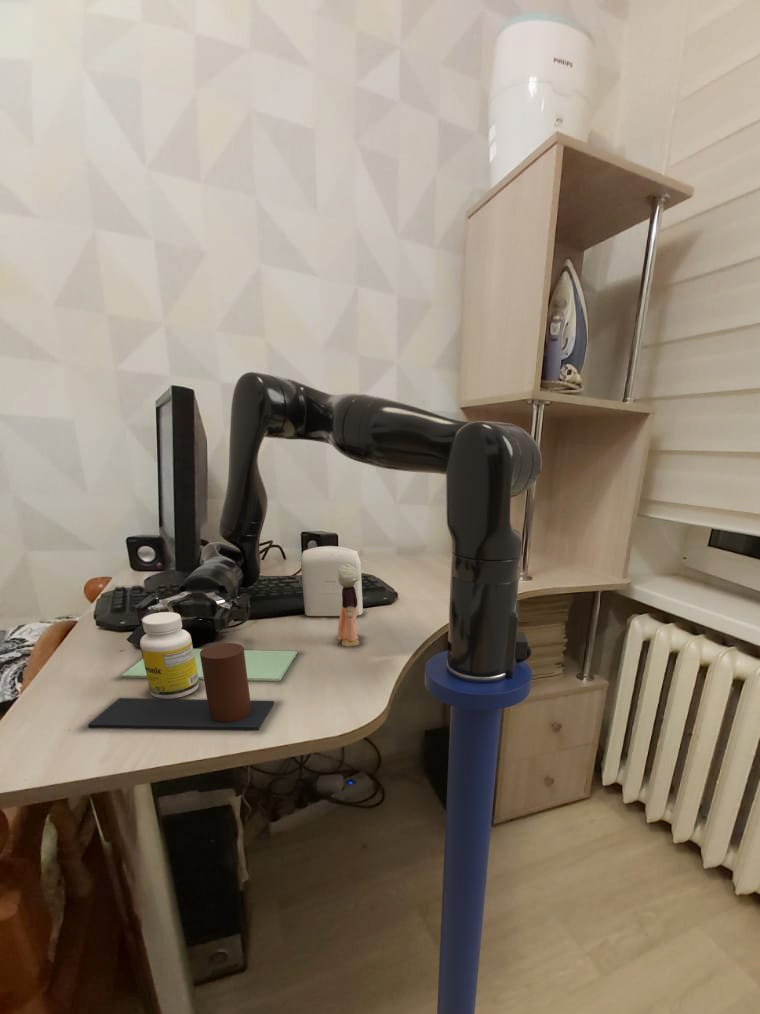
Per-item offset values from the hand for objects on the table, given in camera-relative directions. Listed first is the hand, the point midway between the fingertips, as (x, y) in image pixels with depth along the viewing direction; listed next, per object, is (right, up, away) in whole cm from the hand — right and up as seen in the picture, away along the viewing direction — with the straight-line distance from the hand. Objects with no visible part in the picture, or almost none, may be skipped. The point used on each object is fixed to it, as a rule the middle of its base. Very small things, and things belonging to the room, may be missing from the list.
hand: (183, 625), depth 69 cm
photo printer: (+13, +3, +25) cm, 28 cm away
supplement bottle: (+1, -8, -4) cm, 9 cm away
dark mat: (+6, -11, -9) cm, 15 cm away
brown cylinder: (+11, -10, -9) cm, 17 cm away
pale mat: (+3, -5, +3) cm, 7 cm away
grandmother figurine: (+19, -2, +13) cm, 23 cm away
